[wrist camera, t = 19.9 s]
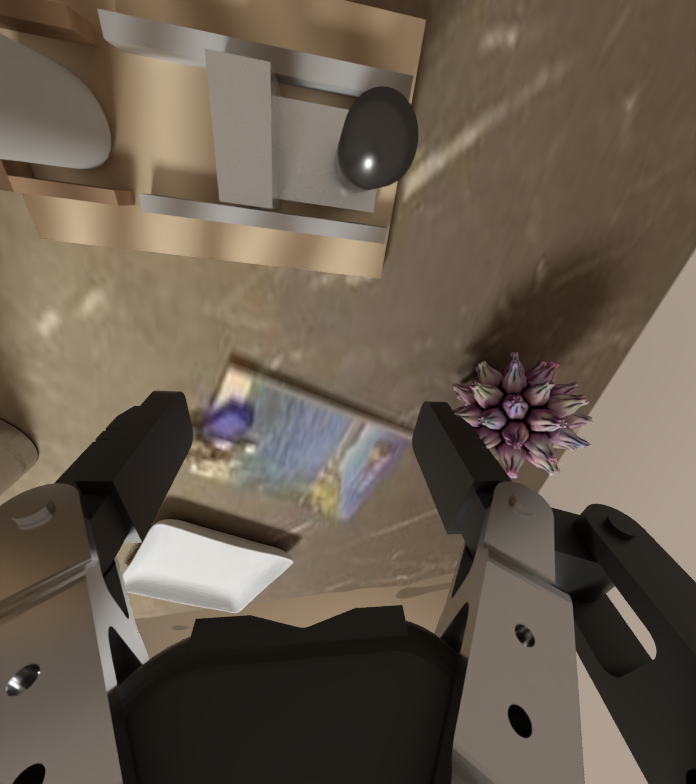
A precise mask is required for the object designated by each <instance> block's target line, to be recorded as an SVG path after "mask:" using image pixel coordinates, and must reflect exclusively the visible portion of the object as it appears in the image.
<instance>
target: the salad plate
mask: <svg viewBox="0 0 696 784" xmlns="http://www.w3.org/2000/svg"><path fill="white" fill-rule="evenodd" d="M293 562H294V561H293V559H292V557H291V556H290V555H289V554H287V553H286V552H285V551H283V550H281V549H278V548H275V547H272V546H268V545H264V544H260V543H257V542H254V541H250V540H247V539H244V538H240V537H237V536H233V535H230V534H226V533H223V532H219V531H215V530H212V529H208V528H205V527H201V526H198V525H195V524H192V523H188V522H185V521H181V520H175V519H165V520H161V521H158V522H157V523H155V524H154V525H153V526H152V527H151V528H150V530H149V532H148V533H147V535H146V537H145V539H144V541H143V542H142V544H141V546H140V548H139V550H138V551H137V553H136V555H135V557H134V558H133V560H132V561H131V563H130V565H129V566H128V568H127V569H126V570H125V572H124V573H123V575H122V576H123V580H124V583H125V587H126V591H127V592H129V593H134V594H139V595H143V596H148V597H152V598H157V599H162V600H167V601H172V602H177V603H182V604H187V605H192V606H198V607H204V608H210V609H215V610H221V611H227V612H232V613H238V612H239V611H241V610H242V609H243V608H244V607H245V606H246V605H247V604H248V603H249V602H250V601H251V600H253V599H254V598H255V597H256V596H257V595H258V594H259V593H260V592H261V591H262V590H263V589H265V588H266V587H267V586H268V585H269V584H270V583H271V582H272V581H274V580H275V579H276V578H277V577H278V576H279V575H281V574H282V573H283V572H284V571H285V570H286V569H287V568H289V567H290V566H291V565H292V563H293Z"/></svg>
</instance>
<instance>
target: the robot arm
mask: <svg viewBox="0 0 696 784" xmlns="http://www.w3.org/2000/svg"><path fill="white" fill-rule="evenodd" d="M192 440H193V429H192V424H191V420H190V415H189V411H188V407H187V402H186V398H185V395H184V394H183V393H182V392H175V391H153V392H152V393H151V394H150V395H149V396H148V398H147V399H146V400H145V401H144V402H143V403H142V404H141V406H134V407H132V408H130V409H129V410H127V411H125V412H124V413H122V414H120V415H118V416H117V417H116V418H115V419H114V420H113V421H112V422H111V423H110V424H109V425H108V427H107V428H106V431H103V432H102V433H101V434H100V435H99V436H98V437H97V438H96V442H93V443H92V444H91V445H90V446H89V447H88V448H87V449H86V450H85V451H84V452H83V453H82V454H81V455H80V456H79V457H78V459H77V460H76V461H75V462H74V463H73V464H72V465H71V466H70V467H69V468H68V469H67V470H66V471H65V472H64V473H63V474H62V476H61V477H60V478H59V479H58V480H57V481H56V482H55V483H54V484H47V485H43V486H39V487H36V488H33V489H30V490H27V491H25V492H23V493H21V494H19V495H17V496H15V497H13V498H11V499H10V500H8V501H7V502H5V503H4V504H2V505H1V506H0V784H585V781H584V766H583V751H582V737H581V721H580V706H579V693H578V692H579V691H578V678H577V663H576V651H577V653H578V655H579V657H580V659H581V661H582V663H583V665H584V666H585V668H586V670H587V672H588V674H589V676H590V677H591V679H592V681H593V683H594V685H595V686H596V688H597V690H598V692H599V694H600V696H601V697H602V699H603V701H604V703H605V705H606V707H607V709H608V710H609V712H610V714H611V716H612V718H613V720H614V721H615V723H616V725H617V727H618V729H619V731H620V732H621V734H622V736H623V738H624V740H625V742H626V743H627V745H628V747H629V749H630V751H631V753H632V755H633V756H634V758H635V760H636V762H637V764H638V766H639V767H640V769H641V771H642V773H643V775H644V777H645V778H646V780H647V782H648V784H696V582H695V581H694V580H693V579H692V578H691V577H690V576H689V575H688V574H687V573H686V572H685V571H684V570H683V569H682V568H681V567H680V566H679V565H678V564H677V563H676V562H675V561H674V560H673V558H672V557H671V556H670V555H669V554H668V553H667V552H666V551H665V550H664V549H663V548H662V547H661V546H660V545H659V544H658V543H657V542H656V541H655V540H654V539H653V538H652V537H651V536H650V535H649V534H648V533H647V532H646V530H645V529H643V528H642V527H641V526H640V525H639V524H638V523H637V522H636V521H634V520H633V519H632V518H630V517H629V516H627V515H626V514H624V513H622V512H620V511H619V510H616V509H614V508H612V507H609V506H606V505H602V504H591V505H589V506H588V507H587V508H586V509H585V510H584V511H583V512H582V513H581V515H577V514H573V513H570V512H566V511H562V510H559V509H555V508H551V507H550V506H549V504H548V503H547V502H546V500H544V498H543V497H542V496H540V495H539V494H538V493H537V492H535V491H534V490H532V489H531V488H529V487H527V486H525V485H523V484H520V483H516V482H512V481H511V479H510V478H509V476H508V475H507V474H506V472H505V471H504V469H503V468H502V467H501V465H500V464H499V462H498V461H497V460H496V458H495V457H494V455H493V454H492V453H491V451H490V450H489V449H488V448H486V444H485V443H484V442H483V440H482V439H480V436H479V435H478V433H477V432H476V430H475V429H474V428H473V426H472V425H470V424H469V423H468V422H467V421H465V420H464V419H463V418H461V417H460V416H456V415H455V413H454V412H453V410H452V409H451V407H450V406H449V404H448V403H446V402H428V401H425V402H424V403H423V404H422V406H421V410H420V413H419V416H418V420H417V423H416V426H415V430H414V433H413V438H412V445H413V450H414V453H415V456H416V458H417V461H418V463H419V466H420V468H421V471H422V473H423V475H424V478H425V480H426V483H427V485H428V488H429V490H430V493H431V495H432V498H433V500H434V503H435V505H436V508H437V510H438V513H439V515H440V517H441V520H442V522H443V525H444V527H445V530H446V532H447V534H462V536H463V538H464V541H465V542H464V543H463V545H462V548H461V551H460V555H459V558H458V562H457V565H456V569H455V573H454V576H453V580H452V583H451V587H450V591H449V594H448V598H447V601H446V604H445V608H444V610H443V613H442V615H441V617H440V619H439V622H438V624H437V627H436V630H435V633H432V632H430V631H429V630H427V629H425V628H423V627H421V626H419V625H417V624H414V623H412V622H408V621H406V620H405V616H404V611H403V607H402V605H398V606H382V607H367V608H355V609H352V610H350V611H347V612H345V613H342V614H339V615H337V616H334V617H332V618H330V619H327V620H324V621H322V622H319V623H317V624H314V625H312V626H310V627H306V628H300V627H295V626H291V625H287V624H283V623H279V622H275V621H271V620H267V619H263V618H259V617H255V616H251V615H249V616H248V615H247V616H232V617H217V618H202V619H196V620H195V624H194V627H193V631H192V634H191V637H188V638H186V639H183V640H181V641H179V642H177V643H175V644H173V645H171V646H169V647H167V648H166V649H164V650H163V651H161V652H160V653H158V654H156V655H155V656H153V657H152V658H151V659H149V657H148V654H147V651H146V649H145V646H144V644H143V641H142V639H141V637H140V635H139V632H138V630H137V627H136V624H135V621H134V617H133V613H132V609H131V606H130V602H129V598H128V594H127V591H126V587H125V583H124V580H123V576H122V572H121V568H120V565H119V561H118V559H117V557H116V555H117V553H118V551H119V550H120V548H121V546H122V544H123V543H141V542H142V541H143V539H144V537H145V536H146V534H147V532H148V530H149V528H150V526H151V524H152V522H153V520H154V518H155V516H156V514H157V512H158V510H159V508H160V506H161V504H162V502H163V500H164V498H165V497H166V495H167V493H168V491H169V489H170V487H171V485H172V483H173V481H174V479H175V477H176V475H177V473H178V471H179V469H180V467H181V465H182V463H183V461H184V459H185V458H186V456H187V454H188V452H189V450H190V448H191V445H192ZM37 458H38V454H37V450H36V448H35V446H34V444H33V443H32V442H31V441H30V439H29V438H28V437H27V436H25V435H24V434H23V433H22V432H21V431H19V430H18V429H16V428H15V427H13V426H12V425H10V424H8V423H6V422H4V421H2V420H0V496H1V495H2V494H3V493H4V492H5V491H6V490H7V489H8V488H10V487H11V486H12V485H13V484H14V483H15V482H16V481H17V480H18V479H19V478H20V477H22V476H23V475H24V474H25V473H26V472H27V471H28V470H29V469H30V468H31V467H33V465H34V464H35V463H36V462H37ZM614 586H616V588H617V589H618V590H619V592H620V593H621V594H622V596H623V597H624V599H625V600H626V601H627V602H628V604H629V605H630V607H631V608H632V609H633V610H634V612H635V613H636V615H637V616H638V617H639V619H640V620H641V621H642V623H643V624H644V625H645V627H646V628H647V630H648V631H649V632H650V634H651V636H652V638H653V640H654V642H655V645H656V650H657V653H656V658H655V659H654V660H652V659H651V657H650V656H649V655H648V653H647V652H646V650H645V649H644V648H643V646H642V645H641V643H640V642H639V640H638V639H637V637H636V636H635V635H634V633H633V632H632V630H631V629H630V627H629V626H628V625H627V623H626V622H625V620H624V619H623V618H622V616H621V615H620V613H619V612H618V610H617V609H616V608H615V606H614V605H613V603H612V602H611V600H610V599H609V598H608V596H607V595H606V593H607V592H608V591H609V590H611V589H612V588H613V587H614Z"/></svg>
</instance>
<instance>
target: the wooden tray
mask: <svg viewBox="0 0 696 784" xmlns="http://www.w3.org/2000/svg"><path fill="white" fill-rule="evenodd" d="M425 24H426V20H425V19H421V18H416V17H412V16H408V15H404V14H400V13H396V12H391V11H387V10H383V9H379V8H375V7H371V6H367V5H362V4H358V3H354V2H350V1H346V0H0V33H1V34H2V35H4V36H6V37H8V38H10V39H12V40H14V41H16V42H18V43H20V44H22V45H24V46H26V47H27V48H29V49H31V50H33V51H35V52H37V53H39V54H41V55H43V56H45V57H47V58H49V59H51V60H52V61H54V62H56V63H58V64H60V65H62V66H64V67H66V68H68V69H69V70H71V71H72V72H73V73H74V74H75V75H77V76H78V77H79V78H80V79H81V80H82V81H83V82H84V83H85V84H86V86H87V87H88V88H89V89H90V91H91V92H92V93H93V94H94V96H95V98H96V99H97V101H98V103H99V105H100V106H101V108H102V110H103V112H104V115H105V117H106V120H107V122H108V125H109V130H110V134H111V150H110V153H109V157H108V158H107V160H106V161H105V162H104V164H103V165H101V166H99V167H97V168H95V169H88V170H83V169H75V168H68V167H60V166H53V165H45V164H37V163H30V162H22V161H14V160H5V159H0V190H5V191H13V192H20V193H22V195H23V198H24V200H25V202H26V205H27V207H28V210H29V212H30V215H31V217H32V220H33V222H34V225H35V227H36V230H37V232H38V235H39V237H40V239H46V240H55V241H63V242H72V243H81V244H89V245H98V246H106V247H115V248H123V249H132V250H141V251H149V252H158V253H166V254H175V255H183V256H192V257H201V258H209V259H218V260H226V261H235V262H243V263H252V264H261V265H269V266H278V267H286V268H295V269H303V270H312V271H321V272H329V273H338V274H346V275H355V276H363V277H372V278H381V273H382V267H383V262H384V256H385V250H386V245H387V239H388V233H389V228H390V222H391V216H392V211H393V205H394V199H395V194H396V188H397V182H398V181H396V182H395V183H393V184H391V185H389V186H385V187H381V188H377V191H376V198H375V204H374V211H373V213H371V212H365V211H358V210H351V209H344V208H337V207H330V206H324V205H317V204H310V203H303V202H296V201H289V200H283V199H281V208H274V209H271V208H264V207H257V206H249V205H242V204H235V203H228V202H221V201H219V191H218V180H217V170H216V160H215V150H214V140H213V130H212V120H211V110H210V99H209V89H208V79H207V69H206V59H205V49H210V50H215V51H219V52H224V53H229V54H234V55H239V56H244V57H249V58H253V59H258V60H263V61H268V62H270V63H271V65H272V68H273V71H274V73H275V76H276V79H277V81H278V84H279V87H280V97H284V98H289V99H295V100H300V101H305V102H310V103H316V104H321V105H326V106H331V107H336V108H342V109H347V110H349V109H350V107H351V106H352V104H353V103H354V102H355V100H356V99H357V98H358V97H359V96H360V95H361V94H362V93H364V92H365V91H367V90H369V89H371V88H374V87H380V86H385V87H390V88H393V89H395V90H397V91H399V92H400V93H401V94H403V95H404V96H405V97H406V98H407V100H408V101H409V103H410V104H411V103H412V97H413V92H414V86H415V80H416V75H417V69H418V63H419V58H420V52H421V46H422V41H423V35H424V29H425ZM204 48H205V49H204Z"/></svg>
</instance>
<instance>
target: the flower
mask: <svg viewBox="0 0 696 784" xmlns="http://www.w3.org/2000/svg"><path fill="white" fill-rule="evenodd" d="M546 364H547V362H544V361H539V362H538V364H537V365H536V366H535V367H534V368H532V369H531V370H528V371H527V372H524V368H523V366H522V364H521V362H520V361H519V358H518V352H516V353H515V352H512V353H511V355H510V360H509V362H508V363H507V365H506V366H505V368H504V370H503V375H502V374H501V373H500V372H499V371H497V370H495V369H493V368H491V367H490V366H489V365H488V364H487V363H486V361H481V363H478V366H477V367H476V368H475V369H476V371H477V373H478V376H477V382H476V381H475V382H474V383H471V385H466V386H462V385H459V384H454V385H453V387H454V388H453V390H455V391H457V392H458V393H457V394H456V395H457V398H458V399H460V400H462V401H463V403H464V404H465V406H463V407H459V408H457V409H455V410H453V412H454V413H455V415H456V416H460V417H461V418H463V419H464V420H465V421H467V422H468V423H469V424H470V425H472V426H473V428H474V429H475V430H476V432H477V433H478V435H479V436H480V439H482V440H483V442H484V443H485V444H486V448H488V449H489V450H490V451H491V453H492V454H493V455H494V457H495V458H496V460H498V459H499V458H501V460H502V461H503V463H504V465H505V467H506V473H507V475H509V476H510V477H511V478H517V477H518V470H519V468H520V466H521V465H522V464H523V462H524V460H525V457H526V458H527V459H528V460H529V461H530V462H531V463H532V464H534V465H535V466H536V467H538V468H539V467H541V468H543V469H545V470H546V471H547V472H548V473H549V475H550V476H553V475H555V474H558V473H560V470H559V468H558V467H557V464H556V462H557V458H556V456H555V455H556V454H555V450H554V448H563V449H567V450H570V451H575V450H574V449H576V448H577V447H576V446H578V447H581V448H586V447H585V446H588V445H590V444H589V443H588V442H587V441H585V440H583V439H581V438H579V437H578V436H577V435H576V434H575V433H574V432H573V431H572V430H571V429H572V428H574V427H577V426H580V425H591V423H592V420H591V419H592V417H590V416H584V415H582V414H580V413H578V412H576V410H577V409H578V408H579V407H581V406H583V405H586V404H588V403H589V401H588V398H587V397H586V395H578V396H575V395H570V394H571V393H572V391H574V390H575V389H577V388H578V383H577V382H573V383H570V384H566V385H563V384H558V385H555V374H556V370H557V369H558V367H559V364H557V363H554V362H553V361H551V362H550V363H549V364H548V365H546Z"/></svg>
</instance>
